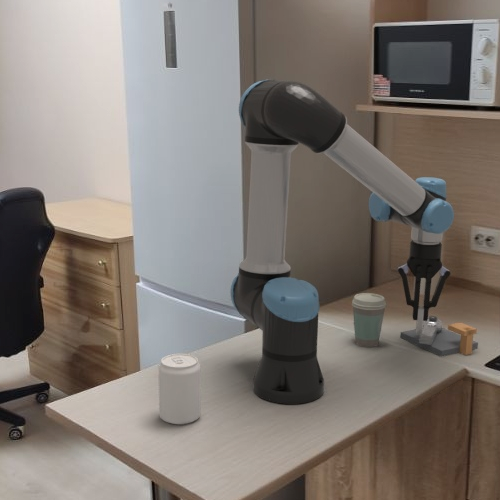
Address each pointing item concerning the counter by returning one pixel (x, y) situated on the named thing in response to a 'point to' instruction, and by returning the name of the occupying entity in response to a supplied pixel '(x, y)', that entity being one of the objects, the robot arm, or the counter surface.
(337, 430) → the counter surface
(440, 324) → the link
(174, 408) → the beverage can
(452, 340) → the board
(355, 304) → the coffee cup
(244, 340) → the counter surface
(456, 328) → the block
